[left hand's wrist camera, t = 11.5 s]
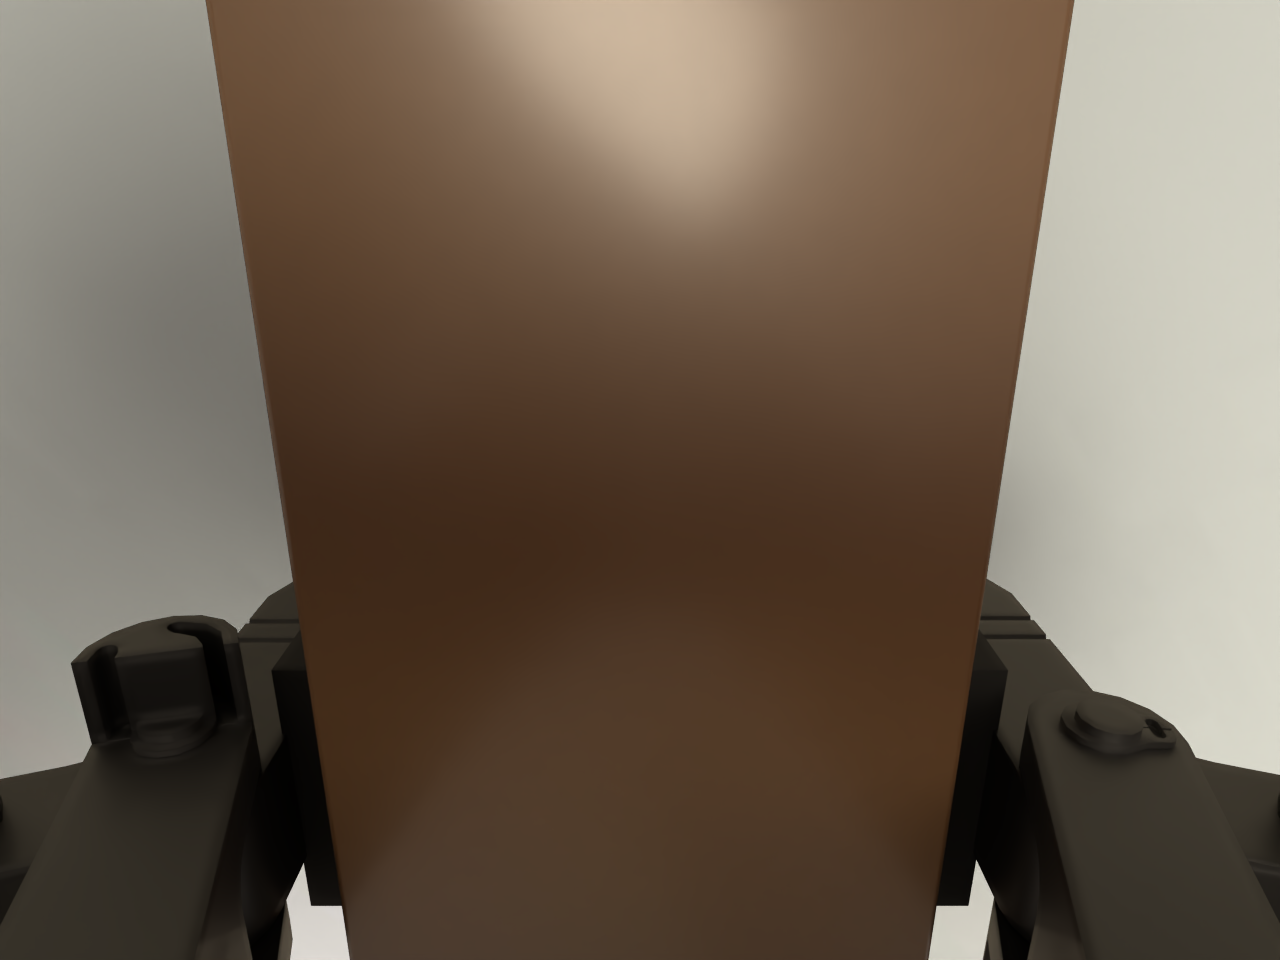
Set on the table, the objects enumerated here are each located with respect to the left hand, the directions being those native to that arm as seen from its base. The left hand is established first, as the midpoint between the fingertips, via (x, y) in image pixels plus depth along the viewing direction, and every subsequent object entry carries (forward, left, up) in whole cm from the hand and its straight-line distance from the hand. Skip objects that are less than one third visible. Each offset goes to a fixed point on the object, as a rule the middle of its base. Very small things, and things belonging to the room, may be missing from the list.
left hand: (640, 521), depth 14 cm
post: (-10, +30, -1) cm, 32 cm away
